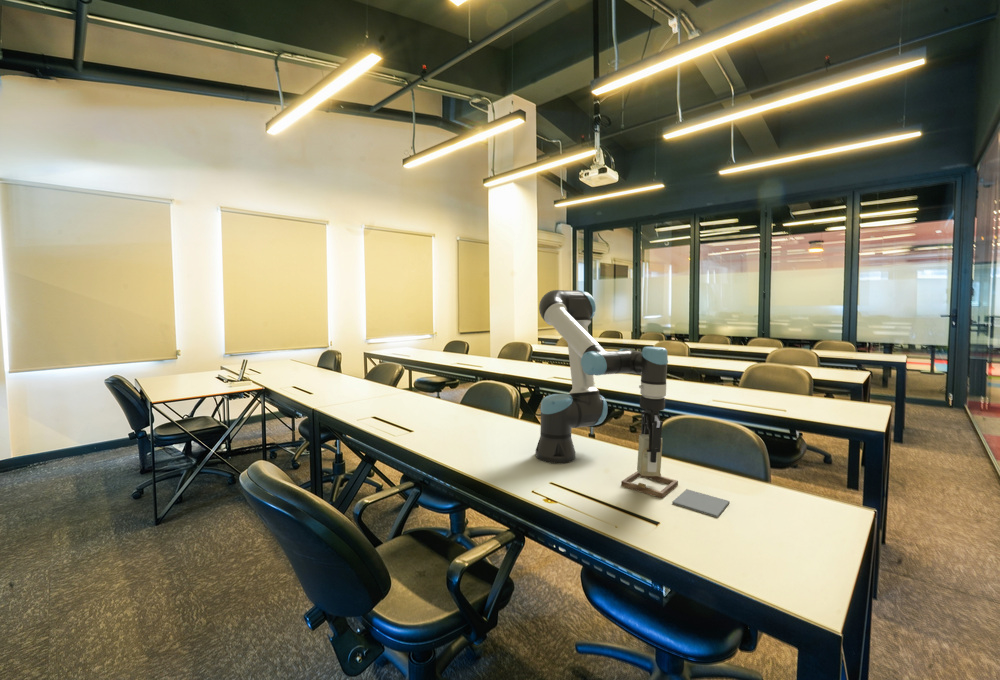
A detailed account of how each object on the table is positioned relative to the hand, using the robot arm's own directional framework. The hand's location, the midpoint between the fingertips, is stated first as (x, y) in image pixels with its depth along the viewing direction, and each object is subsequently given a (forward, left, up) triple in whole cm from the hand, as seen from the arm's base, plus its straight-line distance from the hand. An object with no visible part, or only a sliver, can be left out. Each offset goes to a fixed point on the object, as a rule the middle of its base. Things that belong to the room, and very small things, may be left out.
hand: (649, 468), depth 133 cm
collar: (+1, 0, -5) cm, 6 cm away
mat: (+17, -2, -5) cm, 18 cm away
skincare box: (0, 0, -2) cm, 2 cm away
